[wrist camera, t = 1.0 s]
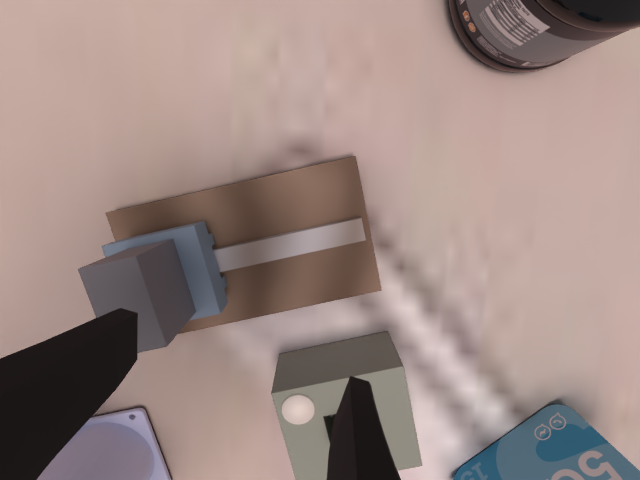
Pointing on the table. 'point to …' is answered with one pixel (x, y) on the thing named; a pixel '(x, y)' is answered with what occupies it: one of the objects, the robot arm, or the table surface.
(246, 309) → the rail
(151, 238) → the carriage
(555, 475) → the data package
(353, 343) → the cabinet
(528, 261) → the table surface
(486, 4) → the supplement container
